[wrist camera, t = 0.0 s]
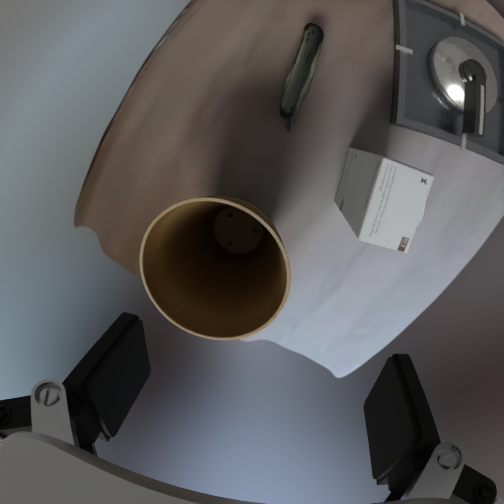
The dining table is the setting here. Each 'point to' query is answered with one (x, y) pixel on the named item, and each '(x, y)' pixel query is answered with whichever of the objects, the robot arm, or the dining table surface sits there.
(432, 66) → the dial
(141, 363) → the robot arm
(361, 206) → the skincare box
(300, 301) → the dining table surface
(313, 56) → the green cucumber
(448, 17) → the housing
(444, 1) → the dining table surface
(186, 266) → the plant pot
